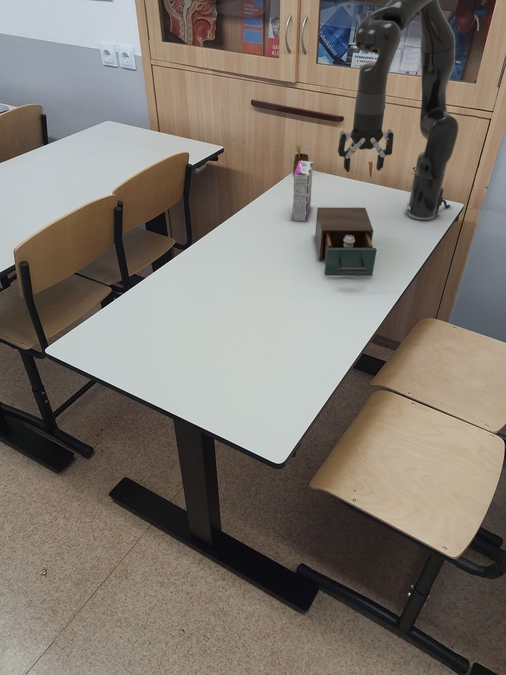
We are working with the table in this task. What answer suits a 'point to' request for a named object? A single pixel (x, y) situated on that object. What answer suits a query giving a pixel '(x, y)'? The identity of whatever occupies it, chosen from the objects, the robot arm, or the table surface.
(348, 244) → the rook chess piece
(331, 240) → the drawer
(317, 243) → the cabinet
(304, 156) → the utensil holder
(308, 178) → the candy bar box
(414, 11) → the robot arm
